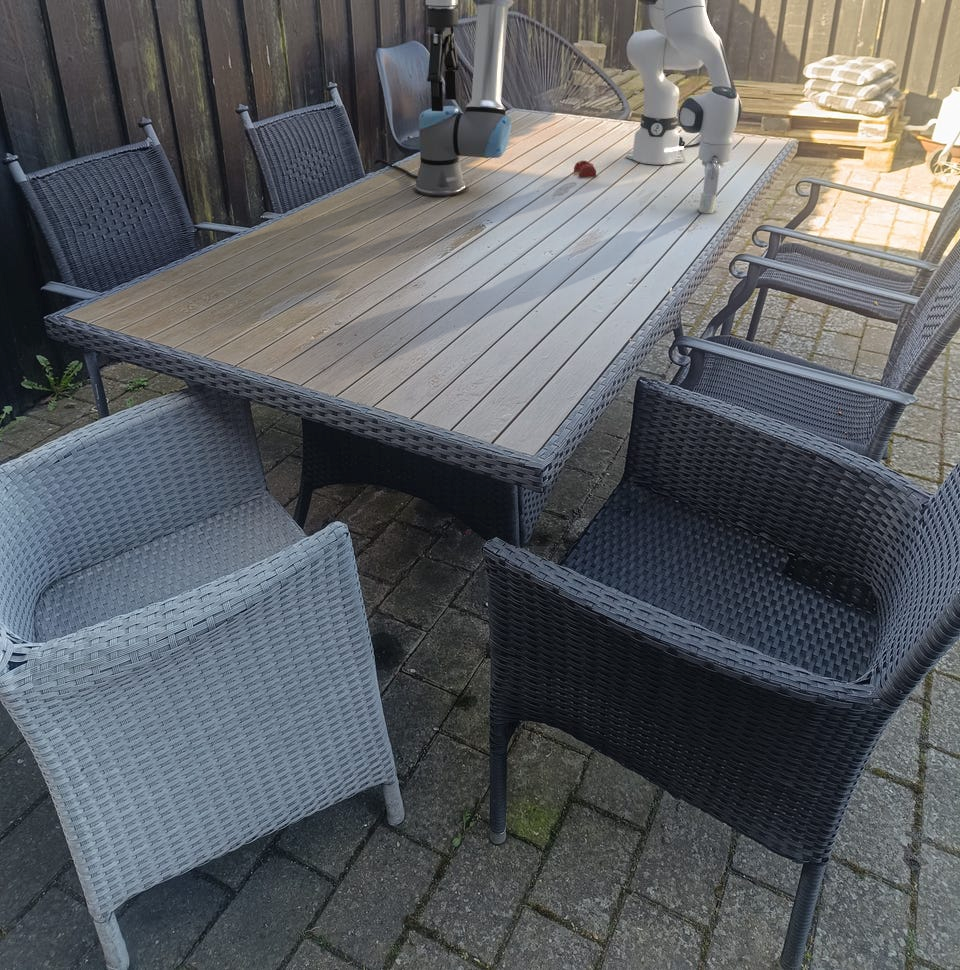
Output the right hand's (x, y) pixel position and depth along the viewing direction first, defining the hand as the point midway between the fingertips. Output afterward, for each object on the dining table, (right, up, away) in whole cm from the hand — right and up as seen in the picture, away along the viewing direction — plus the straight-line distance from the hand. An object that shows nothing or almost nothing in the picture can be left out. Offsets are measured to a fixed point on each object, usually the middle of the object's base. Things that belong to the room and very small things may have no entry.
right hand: (707, 202), depth 240 cm
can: (0, -2, +1) cm, 2 cm away
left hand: (-74, +13, -32) cm, 82 cm away
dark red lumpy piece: (-31, +19, +31) cm, 48 cm away
